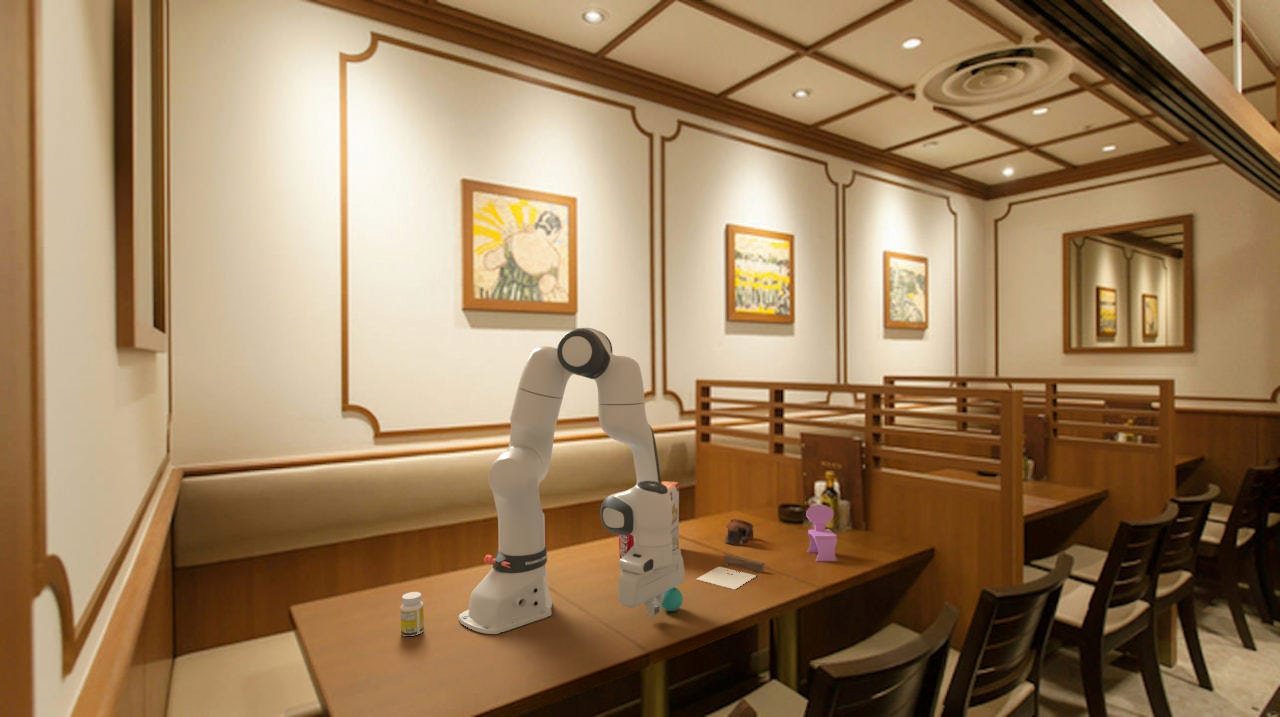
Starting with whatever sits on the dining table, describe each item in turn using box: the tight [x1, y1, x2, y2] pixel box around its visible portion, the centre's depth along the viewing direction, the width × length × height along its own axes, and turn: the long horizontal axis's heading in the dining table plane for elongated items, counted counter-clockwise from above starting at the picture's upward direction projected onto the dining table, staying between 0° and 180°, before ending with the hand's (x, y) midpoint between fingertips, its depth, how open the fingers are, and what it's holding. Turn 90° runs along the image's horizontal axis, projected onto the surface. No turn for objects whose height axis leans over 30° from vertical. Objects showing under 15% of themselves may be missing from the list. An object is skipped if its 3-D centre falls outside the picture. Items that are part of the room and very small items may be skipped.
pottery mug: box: [724, 518, 754, 547], centre depth 200 cm, size 12×10×8 cm
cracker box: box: [661, 480, 680, 547], centre depth 189 cm, size 14×6×21 cm, turn 161°
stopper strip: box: [723, 554, 765, 574], centre depth 177 cm, size 2×12×2 cm, turn 52°
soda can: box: [618, 534, 634, 560], centre depth 184 cm, size 7×7×12 cm
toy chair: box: [805, 504, 838, 562], centre depth 185 cm, size 8×9×15 cm
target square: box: [695, 566, 757, 591], centre depth 169 cm, size 12×12×1 cm
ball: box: [661, 587, 684, 612], centre depth 148 cm, size 6×6×6 cm
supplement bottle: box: [399, 591, 425, 637], centre depth 138 cm, size 5×5×8 cm
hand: (653, 613), depth 143 cm, fingers closed
